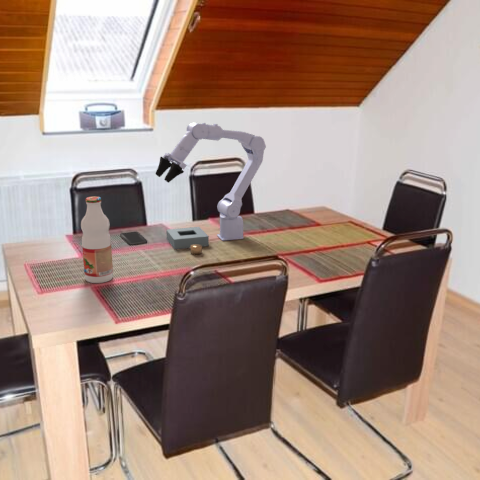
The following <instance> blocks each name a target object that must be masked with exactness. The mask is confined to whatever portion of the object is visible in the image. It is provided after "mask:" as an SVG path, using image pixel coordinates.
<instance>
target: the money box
mask: <svg viewBox="0 0 480 480" xmlns="http://www.w3.org/2000/svg"><path fill="white" fill-rule="evenodd" d="M165 234H166V240H167V242H168V243H169V244H170V245H171V247H172V248H173V249H174V250H178V249H179V250H181V249H190V246H191V245H193V244H199V245H202V247H209V242H210V241H209V239H210V238H209V235H208V234H207V233H206V232H205V231H204V230H203V229H202V228H201V227H200V226H193V227H182V228H179V227H178V228H168V229H166V233H165Z"/></svg>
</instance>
